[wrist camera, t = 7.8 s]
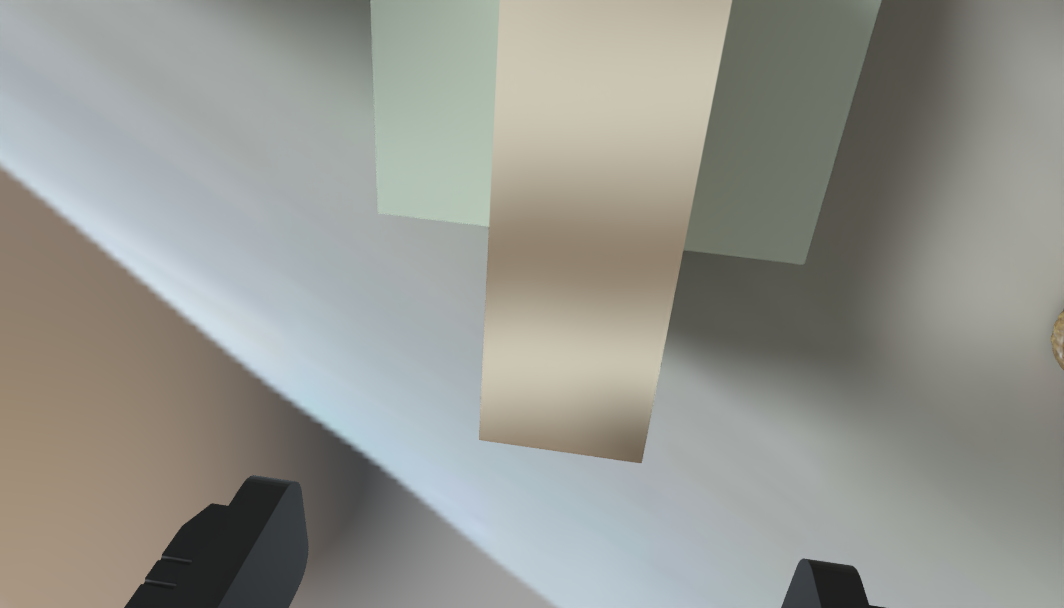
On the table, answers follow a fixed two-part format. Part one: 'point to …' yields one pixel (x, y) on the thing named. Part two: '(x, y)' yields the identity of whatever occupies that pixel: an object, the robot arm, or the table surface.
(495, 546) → the table surface
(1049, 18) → the table surface
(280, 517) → the robot arm
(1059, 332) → the sprinkles bottle
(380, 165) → the tunnel deck
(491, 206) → the birch block
